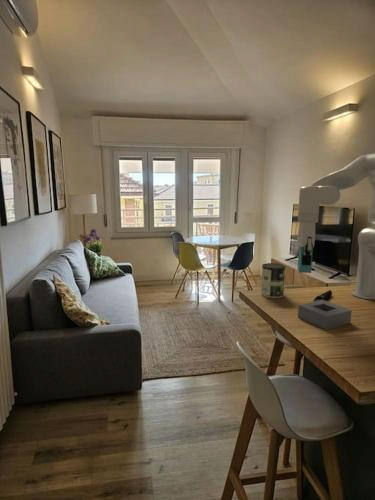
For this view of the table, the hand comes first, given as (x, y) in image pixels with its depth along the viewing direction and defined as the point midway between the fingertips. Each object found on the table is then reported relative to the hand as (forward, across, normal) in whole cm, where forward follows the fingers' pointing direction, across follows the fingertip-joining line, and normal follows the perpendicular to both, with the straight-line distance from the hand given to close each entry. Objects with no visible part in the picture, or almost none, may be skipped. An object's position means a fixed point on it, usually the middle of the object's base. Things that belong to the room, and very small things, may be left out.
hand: (304, 263), depth 129 cm
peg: (+3, 0, 0) cm, 3 cm away
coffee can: (+20, -17, -10) cm, 28 cm away
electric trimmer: (+20, -14, +12) cm, 27 cm away
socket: (+19, +11, +6) cm, 23 cm away
